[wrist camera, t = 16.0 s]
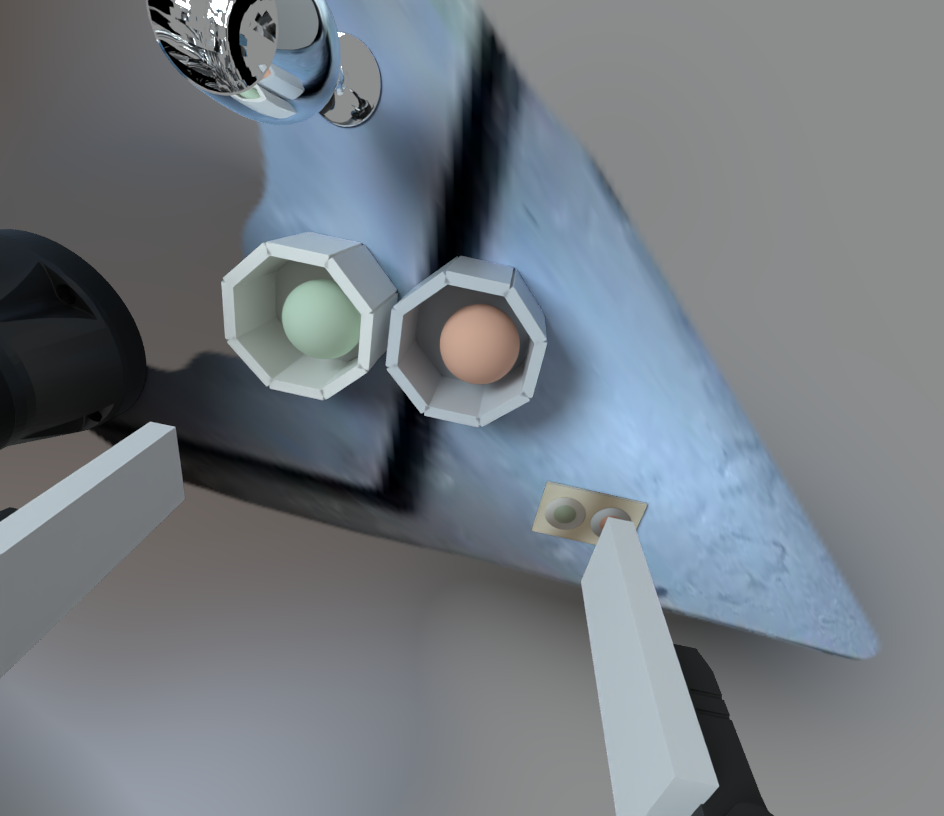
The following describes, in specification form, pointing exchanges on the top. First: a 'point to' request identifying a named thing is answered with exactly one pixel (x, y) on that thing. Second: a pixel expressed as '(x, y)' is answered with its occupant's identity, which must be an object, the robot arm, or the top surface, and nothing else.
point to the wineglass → (269, 58)
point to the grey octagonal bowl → (420, 332)
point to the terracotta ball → (479, 344)
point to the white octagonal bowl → (265, 291)
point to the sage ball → (321, 319)
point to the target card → (582, 512)
